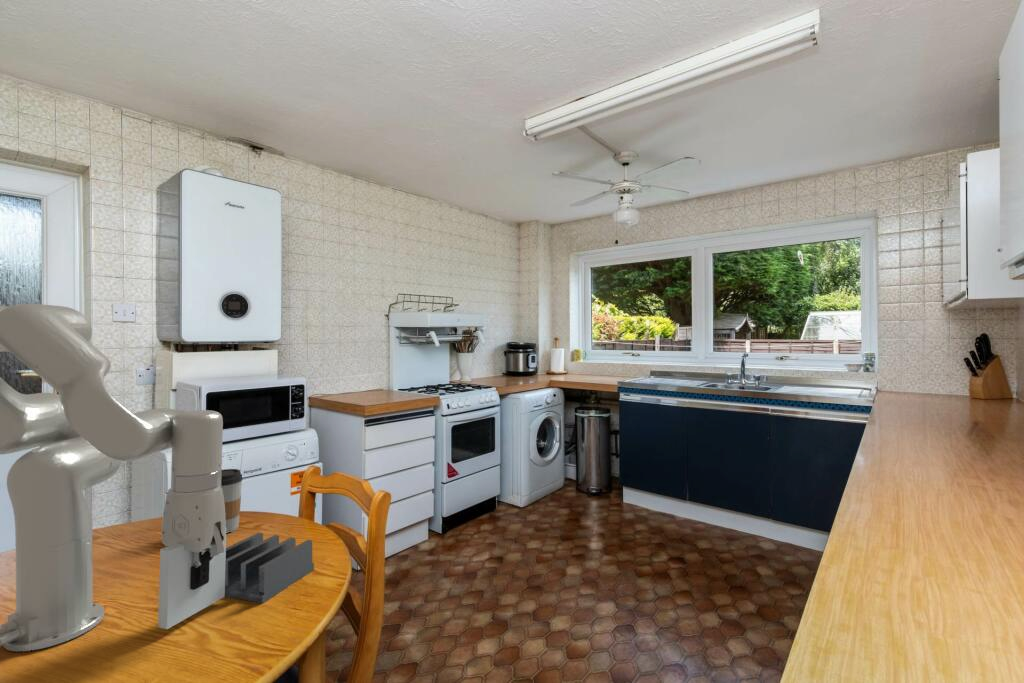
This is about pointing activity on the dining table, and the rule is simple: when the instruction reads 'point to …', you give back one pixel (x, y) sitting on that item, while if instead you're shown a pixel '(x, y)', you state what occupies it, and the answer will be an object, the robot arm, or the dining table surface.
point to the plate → (186, 584)
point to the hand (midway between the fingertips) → (193, 584)
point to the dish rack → (265, 566)
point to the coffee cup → (231, 497)
